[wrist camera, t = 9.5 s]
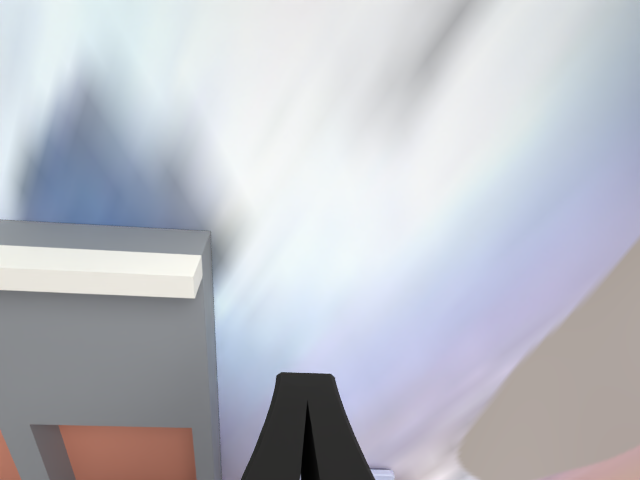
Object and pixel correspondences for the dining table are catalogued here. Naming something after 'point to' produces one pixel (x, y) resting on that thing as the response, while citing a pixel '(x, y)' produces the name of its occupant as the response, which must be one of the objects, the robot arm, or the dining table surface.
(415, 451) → the dining table surface
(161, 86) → the dining table surface
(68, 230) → the board
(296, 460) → the robot arm
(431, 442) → the dining table surface
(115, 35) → the dining table surface
